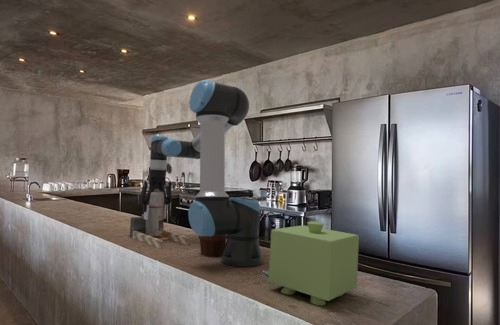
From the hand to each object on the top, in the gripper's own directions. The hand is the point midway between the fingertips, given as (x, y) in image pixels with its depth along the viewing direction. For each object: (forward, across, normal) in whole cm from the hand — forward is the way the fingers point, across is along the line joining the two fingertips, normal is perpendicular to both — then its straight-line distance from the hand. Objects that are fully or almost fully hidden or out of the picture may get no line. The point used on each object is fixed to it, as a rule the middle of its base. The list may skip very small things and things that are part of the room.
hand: (154, 218), depth 157 cm
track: (+9, 0, +5) cm, 10 cm away
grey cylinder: (+7, 0, 0) cm, 7 cm away
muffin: (+10, -6, +36) cm, 38 cm away
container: (+10, -2, +86) cm, 87 cm away
